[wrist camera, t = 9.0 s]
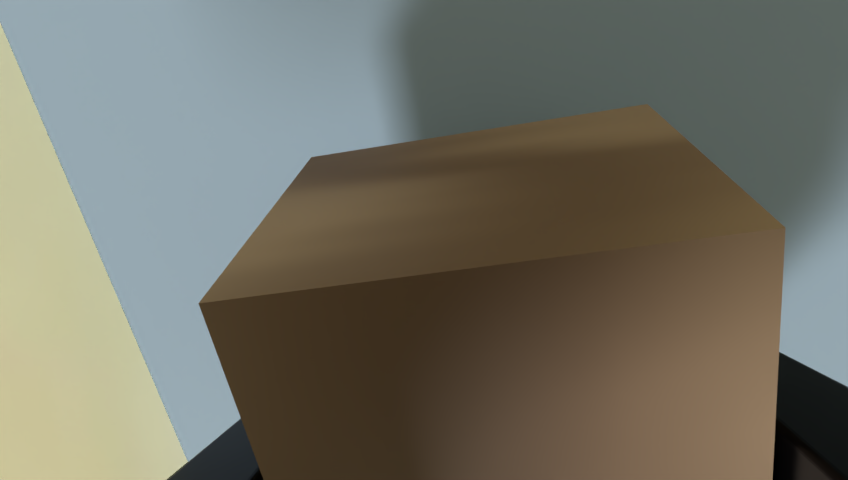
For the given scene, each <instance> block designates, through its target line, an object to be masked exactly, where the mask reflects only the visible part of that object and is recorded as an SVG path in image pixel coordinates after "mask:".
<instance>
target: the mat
mask: <svg viewBox="0 0 848 480" xmlns="http://www.w3.org/2000/svg"><path fill="white" fill-rule="evenodd" d="M0 23H1V25H2V28H3V30H4V32H5V35H6V37H7V39H8V42H9V44H10V46H11V49H12V51H13V53H14V56H15V58H16V60H17V63H18V65H19V67H20V70H21V72H22V74H23V77H24V79H25V81H26V84H27V86H28V88H29V91H30V93H31V95H32V98H33V100H34V103H35V105H36V107H37V110H38V112H39V114H40V117H41V119H42V121H43V124H44V126H45V128H46V131H47V133H48V135H49V138H50V140H51V142H52V145H53V147H54V149H55V152H56V154H57V156H58V159H59V161H60V163H61V166H62V168H63V170H64V173H65V175H66V177H67V180H68V182H69V184H70V187H71V189H72V191H73V194H74V196H75V198H76V201H77V203H78V206H79V208H80V210H81V213H82V215H83V217H84V220H85V222H86V224H87V227H88V229H89V231H90V234H91V236H92V238H93V241H94V243H95V245H96V248H97V250H98V252H99V255H100V257H101V259H102V262H103V264H104V266H105V269H106V271H107V273H108V276H109V278H110V280H111V283H112V285H113V287H114V290H115V292H116V294H117V297H118V299H119V301H120V304H121V306H122V309H123V311H124V313H125V316H126V318H127V320H128V323H129V325H130V327H131V330H132V332H133V334H134V337H135V339H136V341H137V344H138V346H139V348H140V351H141V353H142V355H143V358H144V360H145V362H146V365H147V367H148V369H149V372H150V374H151V376H152V379H153V381H154V383H155V386H156V388H157V390H158V393H159V395H160V397H161V400H162V402H163V404H164V407H165V409H166V412H167V414H168V416H169V419H170V421H171V423H172V426H173V428H174V430H175V433H176V435H177V437H178V440H179V442H180V444H181V447H182V449H183V451H184V454H185V456H186V458H187V461H188V462H189V461H190V460H191V459H192V458H193V457H195V456H196V455H197V454H198V453H199V452H201V451H202V450H203V449H204V448H205V447H207V446H208V445H209V444H210V443H212V442H213V441H214V440H215V439H216V438H218V437H219V436H220V435H221V434H222V433H224V432H225V431H226V430H227V429H228V428H230V427H231V426H232V425H233V424H234V423H236V422H237V421H238V420H239V419H241V417H240V415H239V412H238V409H237V407H236V404H235V401H234V398H233V396H232V393H231V390H230V388H229V385H228V382H227V379H226V377H225V374H224V371H223V369H222V366H221V363H220V361H219V358H218V355H217V352H216V350H215V347H214V344H213V342H212V339H211V336H210V333H209V331H208V328H207V325H206V323H205V320H204V317H203V314H202V312H201V309H200V306H199V304H198V303H199V302H200V301H201V299H202V298H203V297H204V296H205V294H206V293H207V292H208V290H209V289H210V288H211V286H212V285H213V284H214V283H215V281H216V280H217V279H218V277H219V276H220V275H221V273H222V272H223V271H224V270H225V268H226V267H227V266H228V264H229V263H230V262H231V261H232V259H233V258H234V257H235V255H236V254H237V253H238V251H239V250H240V249H241V248H242V246H243V245H244V244H245V242H246V241H247V240H248V239H249V237H250V236H251V235H252V233H253V232H254V231H255V229H256V228H257V227H258V226H259V224H260V223H261V222H262V220H263V219H264V218H265V216H266V215H267V214H268V213H269V211H270V210H271V209H272V207H273V206H274V205H275V204H276V202H277V201H278V200H279V198H280V197H281V196H282V194H283V193H284V192H285V191H286V189H287V188H288V187H289V185H290V184H291V183H292V181H293V180H294V179H295V178H296V176H297V175H298V174H299V172H300V171H301V170H302V169H303V167H304V166H305V165H306V163H307V162H308V161H309V159H310V158H311V157H315V156H321V155H328V154H334V153H340V152H347V151H353V150H359V149H366V148H372V147H378V146H385V145H391V144H397V143H404V142H410V141H416V140H423V139H429V138H435V137H442V136H448V135H454V134H461V133H467V132H473V131H479V130H486V129H492V128H498V127H505V126H511V125H517V124H524V123H530V122H536V121H543V120H549V119H555V118H562V117H568V116H574V115H581V114H587V113H593V112H600V111H606V110H612V109H619V108H625V107H631V106H637V105H644V104H648V105H649V106H650V107H651V108H652V109H653V110H655V111H656V112H657V113H658V114H659V115H660V116H661V117H662V118H663V119H665V120H666V121H667V122H668V123H669V124H670V125H671V126H672V127H674V128H675V129H676V130H677V131H678V132H679V133H680V134H681V135H683V136H684V137H685V138H686V139H687V140H688V141H689V142H690V143H691V144H693V145H694V146H695V147H696V148H697V149H698V150H699V151H700V152H702V153H703V154H704V155H705V156H706V157H707V158H708V159H709V160H710V161H712V162H713V163H714V164H715V165H716V166H717V167H718V168H719V169H721V170H722V171H723V172H724V173H725V174H726V175H727V176H728V177H729V178H731V179H732V180H733V181H734V182H735V183H736V184H737V185H738V186H740V187H741V188H742V189H743V190H744V191H745V192H746V193H747V194H748V195H750V196H751V197H752V198H753V199H754V200H755V201H756V202H757V203H759V204H760V205H761V206H762V207H763V208H764V209H765V210H766V211H767V212H769V213H770V214H771V215H772V216H773V217H774V218H775V219H776V220H778V221H779V222H780V223H781V224H782V225H783V226H784V227H785V228H786V229H785V248H784V268H783V287H782V307H781V326H780V345H779V352H781V353H783V354H785V355H787V356H789V357H791V358H793V359H794V360H796V361H798V362H800V363H802V364H804V365H806V366H808V367H810V368H812V369H814V370H816V371H818V372H820V373H822V374H824V375H826V376H828V377H830V378H832V379H834V380H836V381H838V382H839V383H841V384H843V385H845V386H847V387H848V0H0Z"/></svg>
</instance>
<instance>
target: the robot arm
mask: <svg viewBox="0 0 848 480" xmlns="http://www.w3.org/2000/svg"><path fill="white" fill-rule="evenodd" d="M167 480H263V477H262V474H261V472H260V469H259V466H258V463H257V461H256V458H255V455H254V453H253V450H252V447H251V444H250V442H249V439H248V436H247V434H246V431H245V428H244V425H243V423H242V420H241V419H239V420H238V421H237V422H236V423H234V424H233V425H232V426H231V427H230V428H228V429H227V430H226V431H225V432H224V433H222V434H221V435H220V436H219V437H218V438H216V439H215V440H214V441H213V442H212V443H210V444H209V445H208V446H207V447H205V448H204V449H203V450H202V451H201V452H199V453H198V454H197V455H196V456H195V457H193V458H192V459H191V460H190V461H189V462H187V463H186V464H185V465H184V466H183V467H181V468H180V469H179V470H178V471H176V472H175V473H174V474H173V475H172V476H170V477H169V478H168V479H167ZM773 480H848V387H847V386H845V385H843V384H841V383H839V382H838V381H836V380H834V379H832V378H830V377H828V376H826V375H824V374H822V373H820V372H818V371H816V370H814V369H812V368H810V367H808V366H806V365H804V364H802V363H800V362H798V361H796V360H794V359H793V358H791V357H789V356H787V355H785V354H783V353H781V352H779V365H778V384H777V404H776V423H775V443H774V462H773Z"/></svg>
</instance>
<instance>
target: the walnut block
mask: <svg viewBox="0 0 848 480" xmlns="http://www.w3.org/2000/svg"><path fill="white" fill-rule="evenodd" d="M785 229H786V228H785V227H784V226H783V225H782V224H781V223H780V222H779V221H778V220H776V219H775V218H774V217H773V216H772V215H771V214H770V213H769V212H767V211H766V210H765V209H764V208H763V207H762V206H761V205H760V204H759V203H757V202H756V201H755V200H754V199H753V198H752V197H751V196H750V195H748V194H747V193H746V192H745V191H744V190H743V189H742V188H741V187H740V186H738V185H737V184H736V183H735V182H734V181H733V180H732V179H731V178H729V177H728V176H727V175H726V174H725V173H724V172H723V171H722V170H721V169H719V168H718V167H717V166H716V165H715V164H714V163H713V162H712V161H710V160H709V159H708V158H707V157H706V156H705V155H704V154H703V153H702V152H700V151H699V150H698V149H697V148H696V147H695V146H694V145H693V144H691V143H690V142H689V141H688V140H687V139H686V138H685V137H684V136H683V135H681V134H680V133H679V132H678V131H677V130H676V129H675V128H674V127H672V126H671V125H670V124H669V123H668V122H667V121H666V120H665V119H663V118H662V117H661V116H660V115H659V114H658V113H657V112H656V111H655V110H653V109H652V108H651V107H650V106H649V105H648V104H644V105H637V106H631V107H625V108H619V109H612V110H606V111H600V112H593V113H587V114H581V115H574V116H568V117H562V118H555V119H549V120H543V121H536V122H530V123H524V124H517V125H511V126H505V127H498V128H492V129H486V130H479V131H473V132H467V133H461V134H454V135H448V136H442V137H435V138H429V139H423V140H416V141H410V142H404V143H397V144H391V145H385V146H378V147H372V148H366V149H359V150H353V151H347V152H340V153H334V154H328V155H321V156H315V157H311V158H310V159H309V161H308V162H307V163H306V165H305V166H304V167H303V169H302V170H301V171H300V172H299V174H298V175H297V176H296V178H295V179H294V180H293V181H292V183H291V184H290V185H289V187H288V188H287V189H286V191H285V192H284V193H283V194H282V196H281V197H280V198H279V200H278V201H277V202H276V204H275V205H274V206H273V207H272V209H271V210H270V211H269V213H268V214H267V215H266V216H265V218H264V219H263V220H262V222H261V223H260V224H259V226H258V227H257V228H256V229H255V231H254V232H253V233H252V235H251V236H250V237H249V239H248V240H247V241H246V242H245V244H244V245H243V246H242V248H241V249H240V250H239V251H238V253H237V254H236V255H235V257H234V258H233V259H232V261H231V262H230V263H229V264H228V266H227V267H226V268H225V270H224V271H223V272H222V273H221V275H220V276H219V277H218V279H217V280H216V281H215V283H214V284H213V285H212V286H211V288H210V289H209V290H208V292H207V293H206V294H205V296H204V297H203V298H202V299H201V301H200V302H199V303H198V304H199V306H200V309H201V312H202V314H203V317H204V320H205V323H206V325H207V328H208V331H209V333H210V336H211V339H212V342H213V344H214V347H215V350H216V352H217V355H218V358H219V361H220V363H221V366H222V369H223V371H224V374H225V377H226V379H227V382H228V385H229V388H230V390H231V393H232V396H233V398H234V401H235V404H236V407H237V409H238V412H239V415H240V417H241V420H242V423H243V425H244V428H245V431H246V434H247V436H248V439H249V442H250V444H251V447H252V450H253V453H254V455H255V458H256V461H257V463H258V466H259V469H260V472H261V474H262V477H263V480H773V462H774V443H775V423H776V404H777V384H778V365H779V345H780V326H781V307H782V287H783V268H784V248H785Z"/></svg>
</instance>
